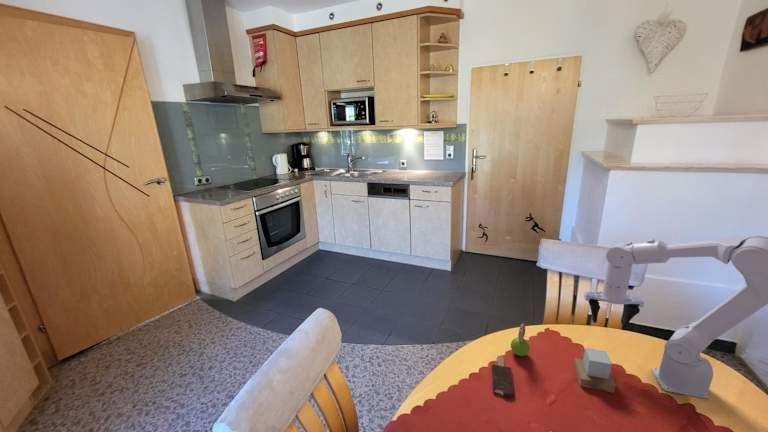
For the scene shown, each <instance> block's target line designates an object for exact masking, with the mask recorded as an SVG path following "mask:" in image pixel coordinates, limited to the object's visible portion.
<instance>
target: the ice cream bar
mask: <svg viewBox="0 0 768 432" xmlns="http://www.w3.org/2000/svg"><path fill="white" fill-rule="evenodd" d="M496 358H497V360H496V361H497V364H491V378H492V379H493V382H492V393H493V394H495V392H496V394H500V395H502V397H503V398H507V399H512V398H514V396H515V390H514V389H515V388H514V382H513V373H512V367H509V366H505V362H504V357H503V356H502V355H498V356H497V357H496ZM492 379H491V380H492Z"/></svg>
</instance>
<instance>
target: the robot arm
mask: <svg viewBox="0 0 768 432" xmlns="http://www.w3.org/2000/svg"><path fill="white" fill-rule="evenodd" d="M605 255H606V257H605V259H606V260H607V266H606V270H605V271H606V272H605V276H604V277H605V278H604V281H603V287H602V291H584V296H583V298H584V300H585V301H587V302H588V304H589V307H590V311H591V320H592V322H593V323H594V324H596V323H597V322H598V316H599V311H600V309H601V306H600V302H603V303H604V302H605V303H609V304H613V305H623V310H622V315H621V318H620V319H621V320H620V324H621V325H622V327H624V328H627V326H628V324H629V322H630V321H631V320H632V319H633V318H634V317H635V316H637V315H638V314H639V313H640V311H641V309H640V308H644V306H645V300H644V299H643V298H642V297H637V296H636V297H635V296H632V295H628V291H629V285H630V282H631V281H630V280H631V275H632V269H633V265H646V264H647V265H648V264H665V263H667V262H668V261H669V260H671V259H672V258H673V259H674V258H704V257H706V258H708V257H709V258H713V259H715V260H717V261H719V262H721V263H723V264H725V265H728V264H729V263H730V261H731V263H732V265H733V266H734V268H735V269H736V271H738V272H739V273H740V274H741V275H742V276H743V278H744V282H745V285H743V286H742V287H741V288H739V289H738V290H736V291H735V292H734V293H732V294H731V295H730V296H729V297H727V298H726V299H725V300H723V301H722V302H720V304H718V305H717V306H715V307H714V308H712V309H711V310H710V311H708V312H707V313H706V314H705V315H703V316H702V317H701V318H699V319H698V320H696V321H693V322H692V323H690V324H689V325H683V326H682V325H681V326H678V327H677V328H676V329H675V331H674V333H673V334H672V336H671V337H670V338H669V339H668V340H667V341H665V343H664V351H663V354H662V358H661V362H660V365H659V368H655V367H651V369H650V370H651V372H652V374H653V375H654V376H655V377H654V378H656V380H657V382H658V383H659V385H660V387H661V389H662V390H663V391H665V392H669V393H675V394H681V395H685V396H690V397H697V398H702V399H707V400H708V399H709V397H710V396H709V395H708V393H709V390H710V387H711V384H712V382H713V378H714V370H713V366H712V364H711V362H710V360H709V359H707V358H706V357H703V356H701V353H702V352H703V351H704V350H706V349H707V348H708V347H709V345H710V344H712V343H713V342H714V341H715V340H717V339H718V338H719V337H721V336H723V335H724V334H725V333H727V332H728V331H730V330H732V329H733V328H734V327H736V326H737V325H739V324H740V323H742V322H743V321H745V320H746V319H748V318H749V317H750V316H752V315H754V314H755V313H756V312H758V311H760V310H761V309H762V308H764V307H766V306H767V305H768V236H764V235H762V236H761V235H753V236H748V237H746V238H745V236H732V237H724V238H723V237H722V238H714V239H706V240H700V241H699V240H698V241H689V242H682V243H681V242H680V243H672V244H668V243H666V242H664V241H662V240H655V238H651V239H648V240H646V241H643V242H636V243H634V242H632V241H627V242H620V243H616V245H614V246H613V247H611V248H610V249H608V251H607V252H606V254H605Z"/></svg>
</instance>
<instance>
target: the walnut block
mask: <svg viewBox="0 0 768 432" xmlns="http://www.w3.org/2000/svg"><path fill="white" fill-rule="evenodd" d="M573 367H574V371H575V375H576V378H577V381H578V385H579V387H583V388H588V389H594V390H599V391H603V392H607V393H608V392H609V393H613V394H614V393H615V391H616V387H617V384H616V382H615V379H614V377H613V375H612V373H611V371H610V374H609V379H605V378H600V377H595V376H589V375H587V374H586V370H585V367H584V364H583V358H578V357H575V358H574V362H573Z"/></svg>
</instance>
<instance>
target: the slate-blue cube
mask: <svg viewBox="0 0 768 432" xmlns="http://www.w3.org/2000/svg"><path fill="white" fill-rule="evenodd" d="M582 359H583V364H584V367H585V370H586V374H587V375H589V376H595V377H600V378H605V379H609V374H610V372H611V368H612V362H611V359H610V357H609V355H608V353H607V351H606V350H603V349H602V350H601V349H597V348H596V349H595V348H590V347H584V354H583V358H582Z"/></svg>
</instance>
